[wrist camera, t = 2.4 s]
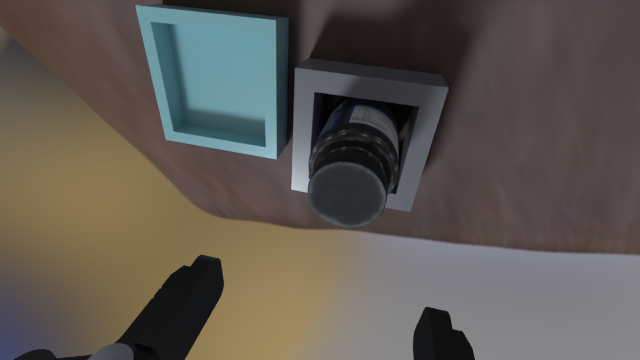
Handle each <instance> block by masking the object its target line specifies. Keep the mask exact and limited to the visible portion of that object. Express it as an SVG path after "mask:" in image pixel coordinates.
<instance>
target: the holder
mask: <svg viewBox="0 0 640 360" xmlns="http://www.w3.org/2000/svg"><path fill="white" fill-rule="evenodd" d="M448 89H449V87H448V85H447V84H446V82H445V80H444V79H443V77H442V75H441V74H434V73H426V72H418V71H410V70H402V69H394V68H386V67H378V66H370V65H362V64H354V63H346V62H338V61H329V60H321V59H313V58H308V59H307V60H305V61H304V62H302V63H301V64H300V65H298V66H297V67H295V86H294V121H293V156H292V190H297V191H302V192H307V193H308V184H309V180H310V175H309V168H308V164H309V157H310V153H311V150H312V148H313V146H314V145H315V143H316V141H317V139H318V137H319V135H320V134H321V124H322V112H323V100H324V93H326V94H333V95H340V96H347V97H354V98H362V99H369V100H376V101H383V102H390V103H397V104H404V105H411V106H412V110H411V114H410V118H409V122H408V126H407V130H406V134H405V138H404V142H403V146H402V150H401V153H400V157H399V173H398V179H397V182H396V185H395V187H394V188H393V189H392V191H391V192H390V193H389V195H388V196H387V202H386V205H385V207H386V208H391V209H396V210H402V211H407V212H410V211H411V208H412V205H413V201H414V198H415V195H416V192H417V188H418V185H419V182H420V179H421V176H422V172H423V169H424V166H425V163H426V160H427V156H428V153H429V150H430V147H431V143H432V140H433V137H434V134H435V131H436V127H437V124H438V121H439V118H440V115H441V111H442V108H443V105H444V102H445V98H446V95H447V92H448Z"/></svg>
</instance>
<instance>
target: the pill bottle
mask: <svg viewBox="0 0 640 360" xmlns="http://www.w3.org/2000/svg"><path fill="white" fill-rule="evenodd" d="M308 168H309V175H310V180H309V184H308V198H309V201H310V204H311V206H312V208H313V209H314V210H315V212H316V213H317V214H318V215H319V216H320V217H322V218H323V219H324V220H326V221H328V222H330V223H332V224H334V225H337V226H341V227H360V226H363V225H366V224H368V223H371V222H373V221H374V220H375V219H377V218H378V217H379V216H380V215H381V213H382V212H383V210H384V208H385V205H386V202H387V196H388V195H389V193H390V192H391V191H392V189H393V188H394V187H395V185H396V182H397V179H398V173H399V156H398V127H397V121H396V118H395V115H394V113H393V111H392V110H391V109H390V107H389V106H388V105H387V104H386V103H384V102H383V101H376V100H369V99H362V98H354V97H351V98H348V99H346V100H344V101H342V102H341V103H340V104H339V105H338V106H337V107H335V109H334V110H333V112H332V113H331V115H330V117H329V119H328V121H327V123H326V124H325V126H324V128H323V130H322V132H321V134H320V135H319V137H318V139H317V141H316V143H315V145H314V146H313V148H312V150H311V153H310V157H309V164H308Z"/></svg>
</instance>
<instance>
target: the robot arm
mask: <svg viewBox="0 0 640 360" xmlns="http://www.w3.org/2000/svg"><path fill="white" fill-rule="evenodd" d="M223 287H224V280H223V273H222V266H221V260H220V259H219V258H214V257H210V256H205V255H200V256H198V257H197V258H196V260H195V261H194V263H193V264H192V265H191V266H190V267H189V266H185V265H184V266H183V267H181V268H180V269H178V270H177V271H175V272H174V273H172V274H171V275H170V276H169V278H168V279H167V280H166V281H165V283H164V284H163V285H162V288H161V289H159V290H158V292H157V293H156V294H155V295H154V298H153V299H151V300H150V302H149V303H148V304H147V306H146V307H145V308H144V309H143V310H142V312H141V313H140V314H139V315H138V317H137V318H136V319H135V320H134V322H133V323H132V324H131V325H130V327H129V328H128V329H127V331H126V332H125V333H124V334H123V335H122V337H121V338H120V339H119V340H118V341H117V342H115V343H114V344H111V345H108V346H105V347H103V348H102V349H100V350H98V351H97V352H95V353H94V354H93V355H86V356H76V357H65V358H56V357H55V356H54V354H53V353H52V352H51V351H49V350H46V349H38V350H33V351H30V352H27V353H25V354H23V355H21V356H19V357H17V358H16V359H14V360H185V358H186V356H187V355H188V353H189V351H190V349H191V348H192V346H193V344H194V342H195V341H196V339H197V337H198V335H199V334H200V332H201V330H202V328H203V327H204V325H205V323H206V322H207V319H208V318H209V316H210V315H211V313H212V311H213V309H214V307H215V306H216V304H217V302H218V301H219V298H220V297H221V294H222V291H223ZM413 355H414V360H475V358H474V354H473V349H472V347H471V345H470V343H469V342H468V340H467V338H466V337H465V335H464V333H463V332H462V331H458V330H454V329H452V324H451V318H450V315H449V313H448V312H447V311H443V310H439V309H435V308H430V307H425V309H424V311H423V313H422V315H421V317H420V320H419V322H418V324H417V326H416V329H415V331H414V337H413Z"/></svg>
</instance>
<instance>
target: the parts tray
mask: <svg viewBox="0 0 640 360" xmlns="http://www.w3.org/2000/svg"><path fill="white" fill-rule="evenodd" d="M135 6H136V11H137V15H138V19H139V24H140V28H141V32H142V37H143V41H144V46H145V50H146V54H147V59H148V63H149V67H150V72H151V76H152V81H153V85H154V89H155V94H156V98H157V102H158V107H159V111H160V115H161V120H162V124H163V129H164V133H165V137H166V140H171V141H176V142H182V143H188V144H193V145H199V146H205V147H210V148H216V149H222V150H227V151H233V152H239V153H244V154H250V155H255V156H261V157H267V158H272V159H277V158H278V157H279V155H280V154H281V153H282V151H283V150H284V149H285V147H286V146H287V112H288V50H289V18H288V17H278V16H269V15H259V14H250V13H240V12H231V11H221V10H212V9H202V8H193V7H184V6H174V5H165V4H153V5H135Z"/></svg>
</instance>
